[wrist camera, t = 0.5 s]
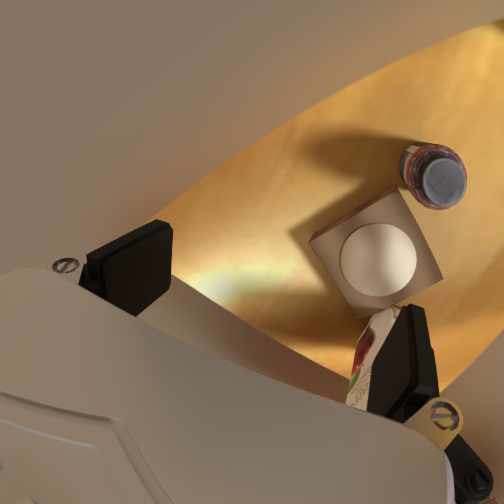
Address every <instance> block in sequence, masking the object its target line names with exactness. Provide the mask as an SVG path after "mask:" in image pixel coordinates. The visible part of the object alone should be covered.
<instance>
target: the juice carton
mask: <svg viewBox="0 0 504 504" xmlns="http://www.w3.org/2000/svg"><path fill="white" fill-rule="evenodd" d="M400 310H401V308H399V307H396V306H394V305H391V306H389V307H387V308H385V309H383V310H381V311H379V312H377V313H374V314H373V315H372V317H371V318H370V320H369V323H368V325H367V326H366V328H365V329H364V331H363V333H362V334H361V336H360V338H359V339H358V341H357V344H356V350H355V357H354V363H353V368H352V374H351V380H350V385H349V391H348V396H347V400H346V405H349V406H352V407H355V408H358V409H361V410H364V411H366V408H367V401H368V394H369V385H370V377H371V367H372V363H373V361H374V359H375V357H376V355H377V353H378V352H379V350H380V348H381V346H382V344H383V343H384V341H385V339H386V337H387V335H388V334H389V332H390V330H391V328H392V326H393V324H394V322H395V320H396V318H397V316H398V314H399V312H400Z"/></svg>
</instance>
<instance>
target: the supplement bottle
mask: <svg viewBox="0 0 504 504" xmlns="http://www.w3.org/2000/svg"><path fill="white" fill-rule="evenodd" d="M400 174H401V177H402V179H403V181H404V183H405V184H406V186H407V187H408V189H409V191H410V192H411V193H412V195H413V196H414V198H415V199H416V200H417V201H418V202H419V203H420V204H422V205H423V206H425V207H427V208H430V209H433V210H444V209H448V208H450V207H452V206H454V205H455V204H456V203H458V202H459V201H460V200H461V198H462V197H463V195H464V193H465V190H466V185H467V173H466V169H465V166H464V164H463V162H462V160H461V158H460V157H459V156H458V155H457V154H456V153H455V152H454V151H453V150H451V149H450V148H448V147H446V146H443V145H439V144H432V143H424V142H420V143H415V144H413V145H411V146H410V147H408V148H407V149H406V150H405V151H404V153H403V154H402V157H401V160H400Z"/></svg>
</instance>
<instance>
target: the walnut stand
mask: <svg viewBox="0 0 504 504" xmlns="http://www.w3.org/2000/svg"><path fill="white" fill-rule="evenodd" d="M309 244H310V246H311V247H312V249H313V250H314V252H315V253H316V255H317V256H318V258H319V259H320V261H321V262H322V264H323V265H324V267H325V268H326V270H327V271H328V273H329V274H330V276H331V277H332V279H333V280H334V282H335V283H336V285H337V287H338V288H339V290H340V291H341V293H342V294H343V296H344V297H345V299H346V301H347V302H348V304H349V305H350V307H351V308H352V310H353V312H354V313H355V315H356V316H357V318H358V320H361V319H363V318H366V317H368V316H370V315H372V314H374V313H377V312H379V311H381V310H383V309H385V308H387V307H389V306H391V305H394V304H396V303H398V302H400V301H402V300H404V299H406V298H408V297H410V296H412V295H414V294H416V293H418V292H420V291H422V290H424V289H426V288H427V287H429V286H431V285H433V284H435V283H437V282H439V281H441V280H442V279H443V276H442V274H441V272H440V269H439V267H438V265H437V262H436V260H435V258H434V256H433V254H432V252H431V250H430V248H429V246H428V244H427V242H426V240H425V238H424V236H423V234H422V232H421V230H420V228H419V226H418V224H417V222H416V220H415V218H414V217H413V215H412V213H411V211H410V209H409V207H408V206H407V204H406V202H405V200H404V199H403V197H402V195H401V193H400V192H399V190H398V188H397V187H396V185H394V186H393V187H391V188H389V189H388V190H386V191H384V192H383V193H381V194H380V195H378V196H376V197H375V198H373V199H371V200H370V201H368V202H366V203H365V204H363V205H362V206H360V207H358V208H357V209H355V210H353V211H352V212H350V213H348V214H347V215H345V216H343V217H342V218H340V219H338V220H337V221H335V222H333V223H332V224H330V225H328V226H327V227H325V228H323V229H322V230H320V231H318V232H317V233H315V234H313V236H312V238H311V240H310V241H309Z"/></svg>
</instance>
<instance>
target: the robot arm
mask: <svg viewBox="0 0 504 504" xmlns="http://www.w3.org/2000/svg"><path fill="white" fill-rule="evenodd" d="M172 241H173V229H172V228H171V226H170V224H169V223H167V222H164V221H161V220H158V219H156V220H154V221H152V222H150V223H148V224H146V225H143V226H141V227H139V228H137V229H135V230H133V231H131V232H129V233H127V234H125V235H123V236H121V237H119V238H118V239H116V240H113V241H112V242H110V243H108V244H106V245H104V246H102V247H100V248H98V249H96V250H94V251H92V252H91V253H89V254H87V255H86V256H87V263H86V264H84V263H83V261H82V259H80V258H79V257H76V256H63V257H59V258H57V259H55V260H53V261H52V262H51V263H50V264H49V266H48V268H47V270H44V269H39V268H31V267H24V268H19V269H17V270H14V271H12V272H10V273H8V274H5V275H4V276H2V277H0V504H498V503H497V501H496V498H495V497H494V498H492V499H491V498H490V493H491V491H492V488H493V477H492V474H491V472H490V470H489V469H488V467H487V466H486V465H485V464H484V463H483V461H482V460H481V459H480V458H479V457H478V456H477V454H476V453H475V452H474V451H473V450H472V449H471V448H470V447H469V445H468V444H467V443H466V442H465V441H464V439H463V438H462V437H461V436H460V435H459V434H458V433H459V432H460V430H461V428H462V426H463V417H462V414H461V412H460V409H459V408H458V407H457V406H456V405H455V404H454V403H453V402H452V401H450V400H448V399H446V398H441V397H439V387H438V378H437V370H436V363H435V356H434V351H433V348H432V347H431V344H430V338H429V332H428V326H427V321H426V316H425V311H424V308H422V307H419V306H416V305H413V304H409V305H408V306H403V307H402V309H401V310H400V312H399V314H398V316H397V318H396V320H395V322H394V324H393V326H392V328H391V330H390V332H389V334H388V335H387V337H386V339H385V341H384V343H383V344H382V346H381V348H380V350H379V352H378V353H377V355H376V357H375V359H374V361H373V363H372V367H371V377H370V385H369V394H368V401H367V408H366V411H364V410H361V409H358V408H355V407H352V406H349V405H346V404H343V403H339V402H336V401H333V400H330V399H327V398H323V397H321V396H318V395H314V394H311V393H309V392H306V391H303V390H300V389H297V388H294V387H292V386H289V385H286V384H284V383H281V382H278V381H276V380H273V379H270V378H268V377H265V376H263V375H260V374H257V373H255V372H252V371H250V370H247V369H245V368H243V367H240V366H238V365H235V364H233V363H231V362H228V361H226V360H223V359H221V358H219V357H216V356H214V355H212V354H210V353H208V352H205V351H203V350H201V349H199V348H197V347H194V346H192V345H190V344H188V343H186V342H184V341H182V340H180V339H178V338H176V337H174V336H171V335H169V334H167V333H165V332H163V331H161V330H159V329H158V328H156V327H154V326H152V325H150V324H148V323H146V322H144V321H142V320H140V319H138V318H136V316H137V315H139V314H140V313H141V312H142V311H143V310H144V309H146V308H147V307H148V306H149V305H150V304H152V303H153V302H154V301H155V300H156V299H158V298H159V297H160V296H161V295H163V294H164V293H165V292H166V291H167V290H168V289H169V287H170V284H171V262H172Z"/></svg>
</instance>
